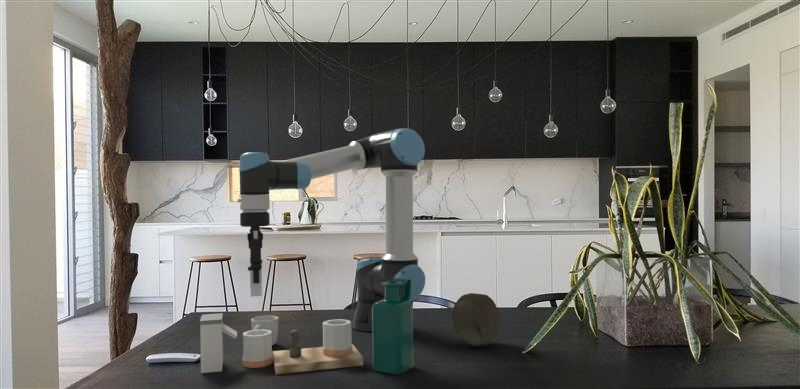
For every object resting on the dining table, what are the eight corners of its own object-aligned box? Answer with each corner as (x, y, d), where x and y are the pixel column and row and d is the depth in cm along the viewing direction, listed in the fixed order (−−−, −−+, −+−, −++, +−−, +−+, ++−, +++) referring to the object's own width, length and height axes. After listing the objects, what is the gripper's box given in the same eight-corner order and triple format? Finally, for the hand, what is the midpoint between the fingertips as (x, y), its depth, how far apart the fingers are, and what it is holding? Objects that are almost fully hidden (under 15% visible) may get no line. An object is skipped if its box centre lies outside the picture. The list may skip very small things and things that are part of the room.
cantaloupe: (510, 344, 159) (509, 292, 159) (482, 355, 148) (481, 299, 148) (470, 336, 168) (469, 287, 168) (441, 346, 158) (440, 294, 158)
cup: (267, 352, 155) (267, 323, 155) (241, 351, 157) (241, 322, 157) (283, 342, 166) (283, 315, 166) (258, 341, 167) (258, 315, 167)
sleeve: (271, 357, 149) (271, 328, 149) (273, 365, 142) (272, 334, 142) (242, 360, 147) (242, 330, 147) (242, 368, 140) (242, 337, 140)
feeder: (237, 360, 147) (236, 312, 147) (237, 369, 139) (236, 318, 139) (202, 364, 144) (202, 314, 145) (200, 373, 137) (199, 321, 137)
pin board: (352, 351, 154) (352, 319, 154) (363, 365, 141) (362, 330, 141) (272, 358, 148) (272, 325, 148) (275, 374, 135) (275, 337, 135)
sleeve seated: (348, 347, 151) (348, 318, 151) (354, 354, 144) (353, 324, 144) (321, 350, 149) (320, 320, 149) (325, 357, 141) (324, 326, 142)
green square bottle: (398, 376, 132) (397, 284, 132) (369, 371, 136) (368, 282, 136) (419, 365, 140) (417, 279, 140) (391, 360, 144) (389, 277, 145)
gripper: (240, 211, 156) (241, 285, 156) (239, 212, 132) (240, 300, 132) (267, 210, 158) (268, 284, 158) (271, 211, 134) (272, 298, 134)
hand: (255, 292), depth 145 cm, fingers open, 13 cm apart
